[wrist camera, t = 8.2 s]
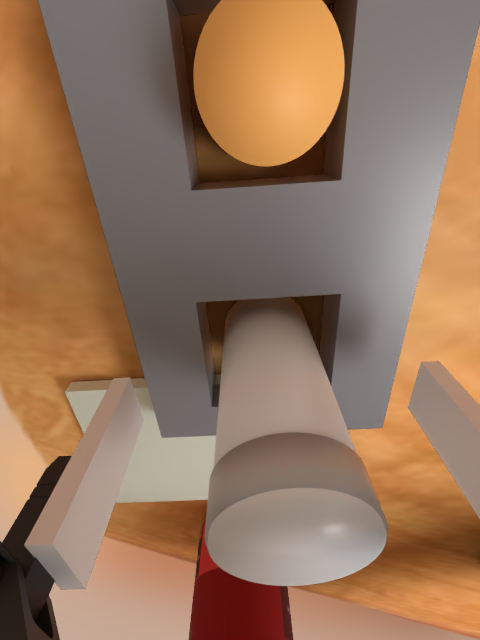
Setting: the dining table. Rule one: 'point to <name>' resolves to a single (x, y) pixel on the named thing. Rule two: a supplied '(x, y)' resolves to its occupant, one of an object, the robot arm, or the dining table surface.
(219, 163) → the dining table surface
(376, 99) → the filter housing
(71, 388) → the mat
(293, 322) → the cartridge
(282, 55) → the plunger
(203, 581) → the canned food
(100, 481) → the robot arm
